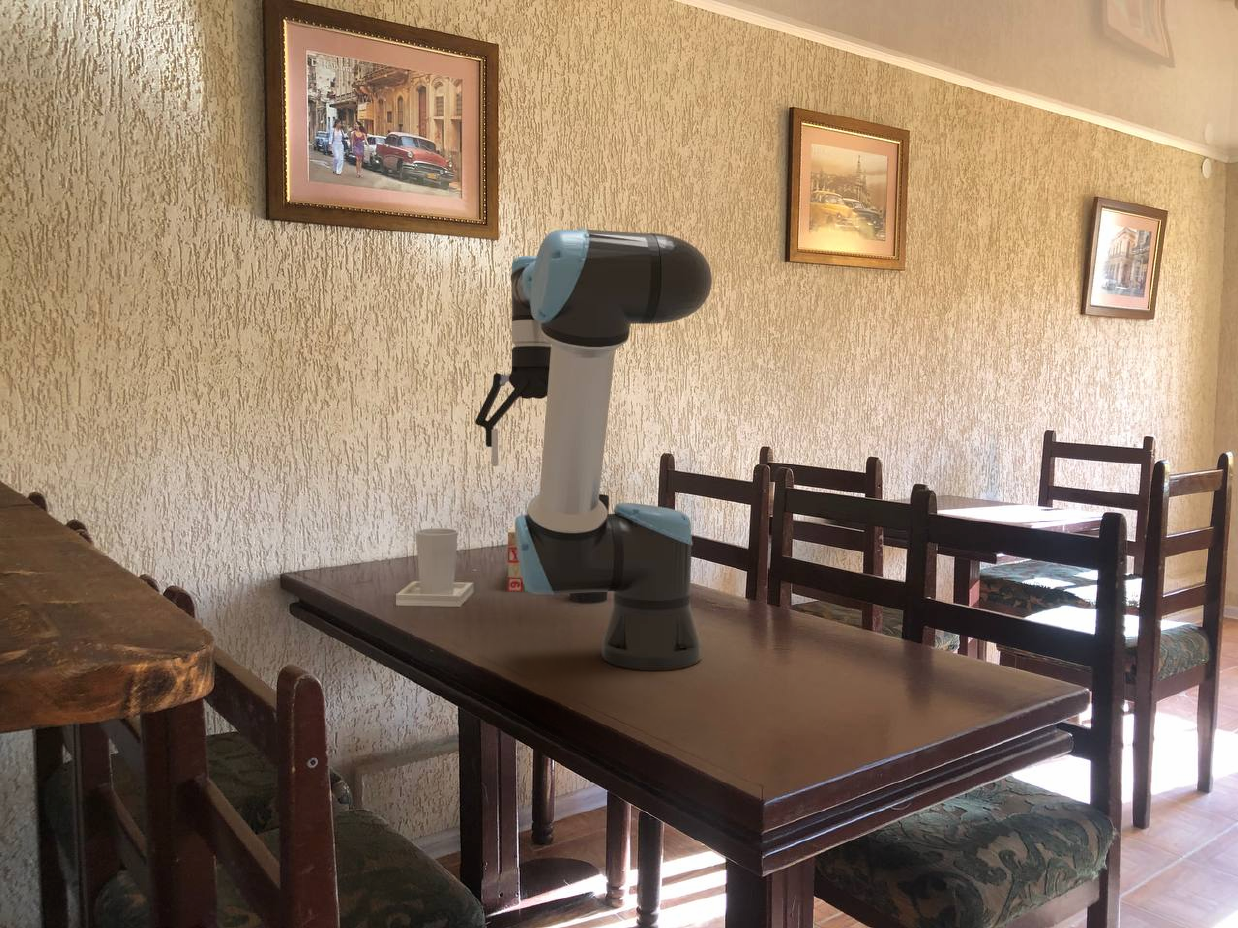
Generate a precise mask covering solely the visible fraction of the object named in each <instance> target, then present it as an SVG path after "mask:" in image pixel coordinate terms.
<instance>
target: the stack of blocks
mask: <svg viewBox="0 0 1238 928" xmlns="http://www.w3.org/2000/svg"><path fill="white" fill-rule="evenodd" d="M507 592H509V593H510V592H511V593H516V592H517V593H522V592H524V593H527V592H529V591H527V590H526V588H525V587H524V584H523V581H522V577H521V572H520V566H519V560H518V553H517V545H516V535H515V522H513V523H512V525H511V527H510V529H508V531H507ZM529 593H530V592H529Z"/></svg>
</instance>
